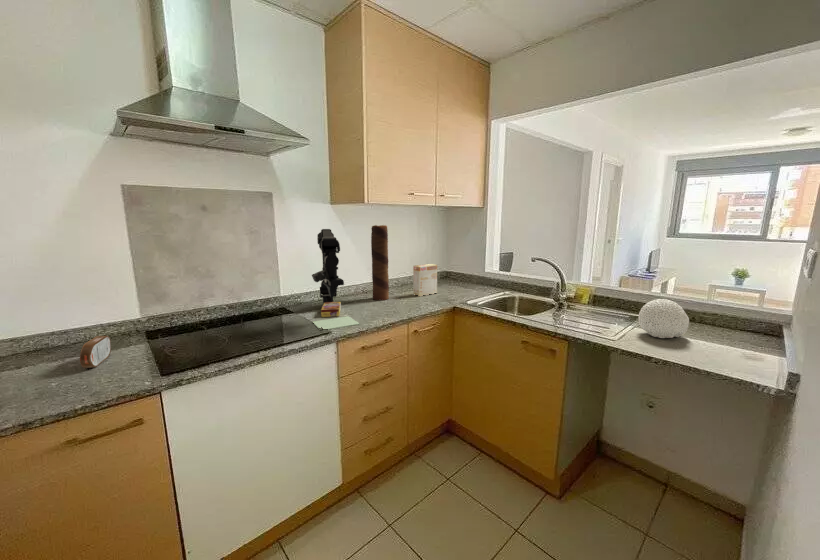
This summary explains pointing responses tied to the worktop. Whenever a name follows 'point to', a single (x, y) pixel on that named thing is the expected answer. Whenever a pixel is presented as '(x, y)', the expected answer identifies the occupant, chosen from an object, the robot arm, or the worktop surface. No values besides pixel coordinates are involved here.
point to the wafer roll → (380, 262)
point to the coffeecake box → (424, 279)
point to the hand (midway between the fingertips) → (331, 297)
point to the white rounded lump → (663, 319)
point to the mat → (336, 323)
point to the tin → (95, 351)
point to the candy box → (331, 309)
